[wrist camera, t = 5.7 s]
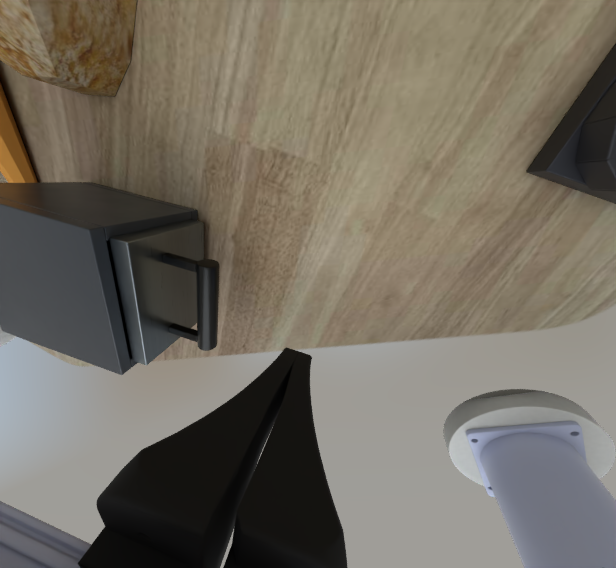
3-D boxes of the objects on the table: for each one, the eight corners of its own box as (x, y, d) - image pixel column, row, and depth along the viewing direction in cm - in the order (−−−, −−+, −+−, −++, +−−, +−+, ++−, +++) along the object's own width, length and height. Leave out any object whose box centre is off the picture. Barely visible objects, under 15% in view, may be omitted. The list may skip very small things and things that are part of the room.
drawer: (248, 234, 18) (190, 261, 12) (240, 328, 22) (194, 383, 16) (103, 195, 20) (-12, 202, 14) (121, 290, 24) (39, 327, 18)
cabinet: (197, 210, 19) (88, 229, 12) (199, 313, 24) (122, 375, 16) (90, 182, 21) (-72, 183, 13) (111, 285, 25) (2, 331, 18)
